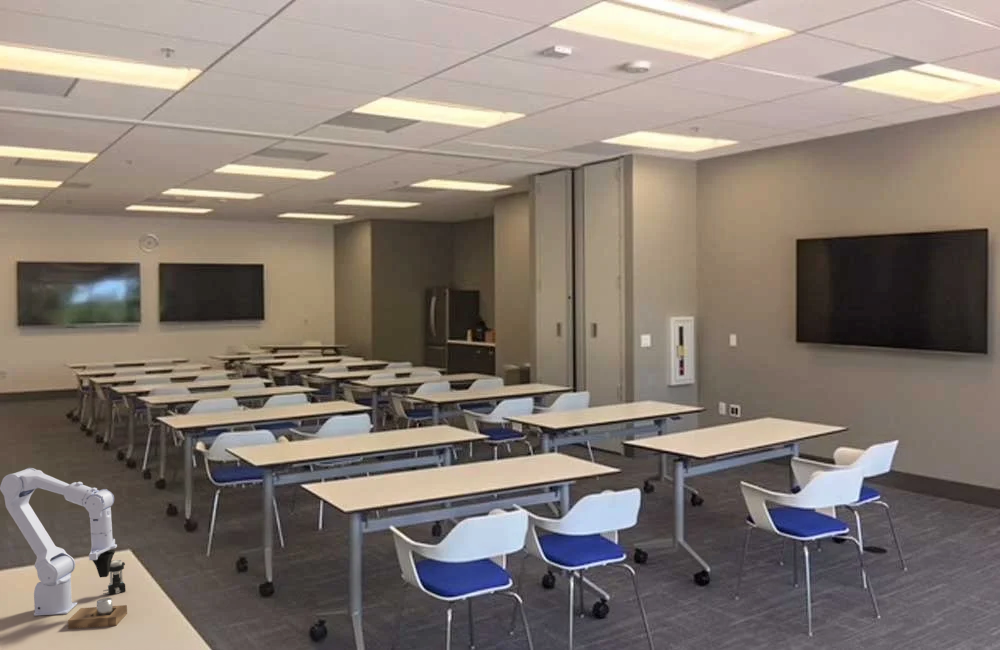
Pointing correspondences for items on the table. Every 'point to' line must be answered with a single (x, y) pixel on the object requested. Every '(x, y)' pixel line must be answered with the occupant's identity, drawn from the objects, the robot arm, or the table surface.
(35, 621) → the table surface
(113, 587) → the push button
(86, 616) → the jig
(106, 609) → the brushed metal cylinder
